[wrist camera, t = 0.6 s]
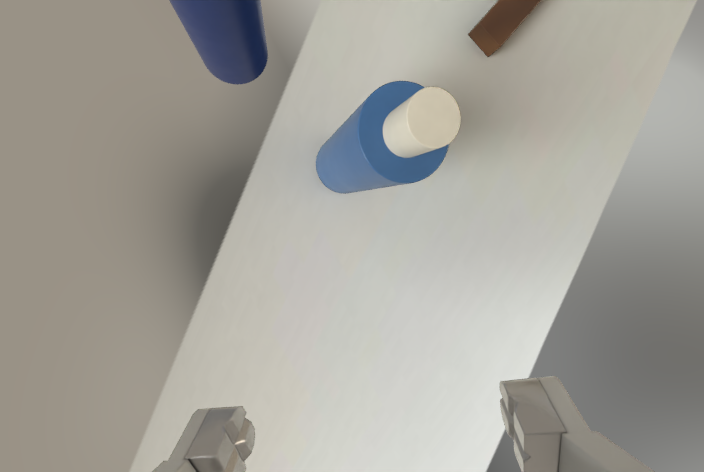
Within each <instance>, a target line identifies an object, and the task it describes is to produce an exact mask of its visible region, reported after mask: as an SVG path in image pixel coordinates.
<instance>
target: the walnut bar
mask: <svg viewBox="0 0 704 472" xmlns="http://www.w3.org/2000/svg"><path fill="white" fill-rule="evenodd" d="M540 1H541V0H498V1H497V2H496V3H495V5H494V6H493V7H492V8H491V9H490V10H489V11H488V12H487V14H486V15H485V16H484V17H483V18H482V19H481V20H480V21H479V23H478V24H477V25H476V26H475V27H474V28H473V29H472V30H471V32H470V33H469V34H468V35H469V36H470V37H471V38H472V40H473V41H474V42H475V43H476V44H477V45H478V46H479V47H480V49H481V50H482V51H483V52H484V53H485V54H486V55H487V56H488V57H489V56H490V55H491V54H493V53H494V52H495V51H496V50H497V49H499V48H500V47H501V46H502V45H503V44H504V42H505V41H506V40H507V39H508V38H509V37H510V35H511V34H512V33H513V32H514V31H515V30H516V29H517V27H518V26H519V25H520V24H521V23H522V22H523V21H524V19H525V18H526V17H527V16H528V15H529V14H530V13H531V11H532V10H533V9H534V8H535V7H536V6H537V5H538V3H539V2H540Z"/></svg>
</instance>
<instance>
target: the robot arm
mask: <svg viewBox="0 0 704 472" xmlns="http://www.w3.org/2000/svg"><path fill="white" fill-rule="evenodd" d="M500 392H501V395H502V397H503V398H502V399H501V400H500V406H501V413H502V418H503V421H504V425H505V428H506V431H507V433H508V436H509V437H511V438H512V439H513V440H514V452H515V455H516V458H517V460H518V463H519V466H520V468H521V471H522V472H654V471H653V470H651V469H650V468H649V467H647V466H646V465H644V464H643V463H641V462H640V461H639V460H637V459H636V458H634V457H633V456H632V455H630V454H629V453H627V452H626V451H624V450H623V449H622V448H620V447H619V446H617V445H616V444H615V443H613V442H612V441H610V440H609V439H608V438H606V437H605V436H603V435H602V434H600V433H599V432H598V431H590V429H589V427H588V426H587V424H586V423H585V421H584V419H583V417H582V416H581V414H580V413H579V411H578V409H577V408H576V406H575V405H574V403H573V401H572V400H571V398H570V396H569V395H568V393H567V391H566V390H565V388H564V387H563V385H562V383H561V381H560V380H559V379H558V378H557V377H555V376H551V377H542V378H527V379H518V380H509V381H500ZM245 415H246V411H245V409H244V408H243V406H238V407H222V408H208V409H198V410H197V411H196V412H195V413H194V414H193V415H192V417H191V419H190V421H189V423H188V425H187V426H186V428H185V430H184V432H183V434H182V436H181V437H180V439H179V441H178V443H177V445H176V447H175V449H174V450H173V452H172V454H171V456H170V458H169V460H168V461H163V462H162V463H161V464H160V465H159V466H158V467H157V468H156V469H154V470H153V471H152V472H245V471H246V465H245V462H244V461H245V460H246V459H247V457H248V456H249V455H250V454H251V452H252V449H253V446H254V440H255V431H254V426H253V424H252V422H251V421H249V420H248V419H246V418H245Z"/></svg>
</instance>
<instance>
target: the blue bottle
mask: <svg viewBox="0 0 704 472" xmlns="http://www.w3.org/2000/svg"><path fill="white" fill-rule="evenodd" d="M460 123H461V114H460V109H459V106H458V104H457V102H456V100H455V99H454V97H453V96H452V95H451V94H450V93H449V92H447V91H446V90H444V89H442V88H439V87H426V88H425V87H423V86H421V85H419V84H416V83H413V82H408V81H395V82H391V83H388V84H385V85H383V86H381V87H379V88H378V89H377V90H375V91H374V92H373V93H372V94H371V95H370V96H369V97H368V98H367V99H366V100H365V101H364V102H363V103H362V104H361V105H360V106H359V108H358V109H357V110H356V111H355V112H354V113H353V114H352V115H351V116H350V117H349V118H348V119H347V120H346V121H345V122H344V123H343V125H342V126H341V127H340V128H339V129H338V130H337V131H336V132H335V133H334V134H333V135H332V136H331V137H330V138H329V139H328V140H327V142H326V143H325V144H324V145H323V146H322V147H321V149H320V150H319V152H318V155H317V159H316V169H317V173H318V176H319V178H320V180H321V181H322V183H323V184H324V185H325V186H326V187H328V188H329V189H330V190H332V191H334V192H338V193H352V192H358V191H364V190H371V189H377V188H383V187H389V186H396V185H402V184H408V183H414V182H418V181H420V180H423V179H425V178H426V177H428V176H430V175H431V174H432V173H433V172H434V171H435V170H436V169H437V168H438V167H439V166H440V164H441V163H442V161H443V160H444V158H445V155H446V153H447V150H448V146H449V143H450V142H452V140H453V139H454V138H455V137H456V135H457V133H458V131H459V128H460Z"/></svg>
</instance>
